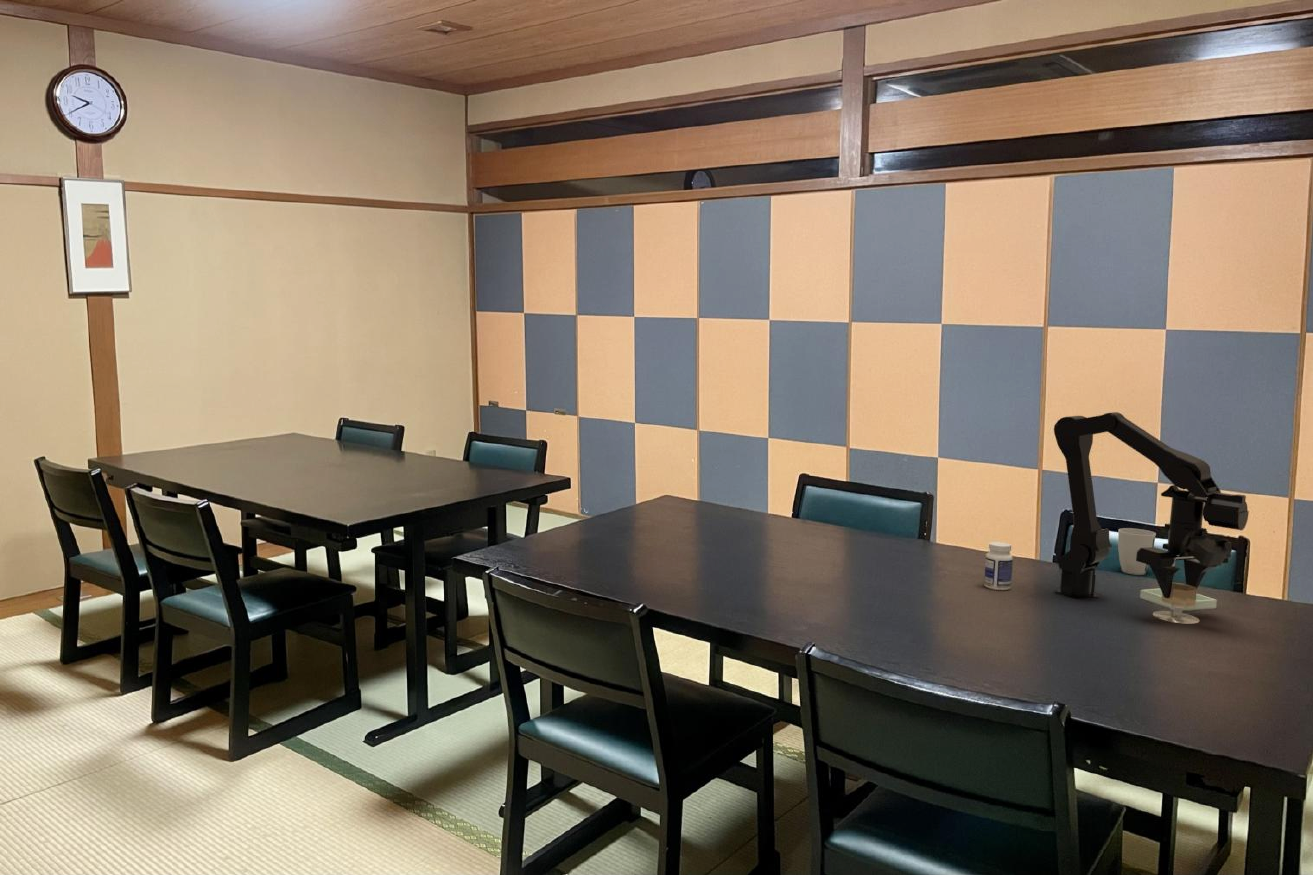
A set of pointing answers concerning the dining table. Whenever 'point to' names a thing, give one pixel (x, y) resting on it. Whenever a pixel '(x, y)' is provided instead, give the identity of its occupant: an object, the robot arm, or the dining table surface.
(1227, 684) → the dining table surface
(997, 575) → the pill bottle
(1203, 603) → the dish
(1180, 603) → the ring
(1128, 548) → the cup
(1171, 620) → the clear stemmed base
